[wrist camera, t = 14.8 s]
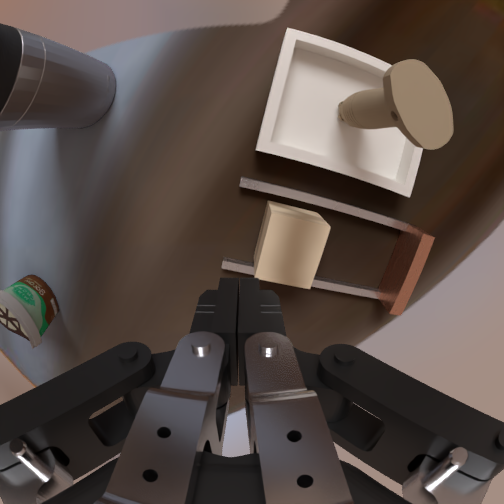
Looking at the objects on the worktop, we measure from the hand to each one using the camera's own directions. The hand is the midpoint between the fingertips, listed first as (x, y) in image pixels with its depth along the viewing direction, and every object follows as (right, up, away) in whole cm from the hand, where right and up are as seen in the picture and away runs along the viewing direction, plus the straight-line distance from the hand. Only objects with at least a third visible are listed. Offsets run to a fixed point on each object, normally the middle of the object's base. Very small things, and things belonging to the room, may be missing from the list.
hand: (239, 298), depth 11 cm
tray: (+11, +18, +17) cm, 27 cm away
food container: (-35, -4, +25) cm, 43 cm away
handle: (+11, +18, +17) cm, 27 cm away
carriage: (+4, +4, +22) cm, 23 cm away
